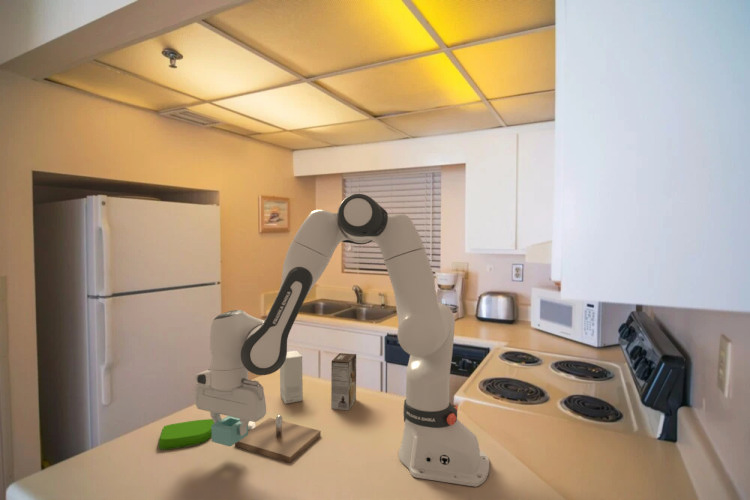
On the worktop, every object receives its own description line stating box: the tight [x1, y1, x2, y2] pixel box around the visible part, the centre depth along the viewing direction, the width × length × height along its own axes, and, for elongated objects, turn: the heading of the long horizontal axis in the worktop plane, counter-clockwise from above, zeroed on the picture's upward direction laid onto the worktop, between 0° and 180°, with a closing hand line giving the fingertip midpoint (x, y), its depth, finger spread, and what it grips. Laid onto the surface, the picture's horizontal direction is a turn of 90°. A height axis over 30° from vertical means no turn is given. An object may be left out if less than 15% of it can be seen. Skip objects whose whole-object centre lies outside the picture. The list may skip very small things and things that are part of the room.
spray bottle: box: [158, 418, 257, 451], centre depth 105 cm, size 3×11×24 cm
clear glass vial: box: [275, 415, 283, 437], centre depth 101 cm, size 2×2×6 cm
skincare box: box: [279, 350, 304, 405], centre depth 129 cm, size 8×7×16 cm
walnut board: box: [234, 417, 322, 464], centre depth 101 cm, size 18×14×2 cm
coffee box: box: [330, 352, 357, 411], centre depth 124 cm, size 9×6×16 cm
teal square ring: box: [211, 416, 249, 448], centre depth 92 cm, size 6×6×4 cm
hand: (230, 431), depth 92 cm, fingers closed on teal square ring, 6 cm apart
